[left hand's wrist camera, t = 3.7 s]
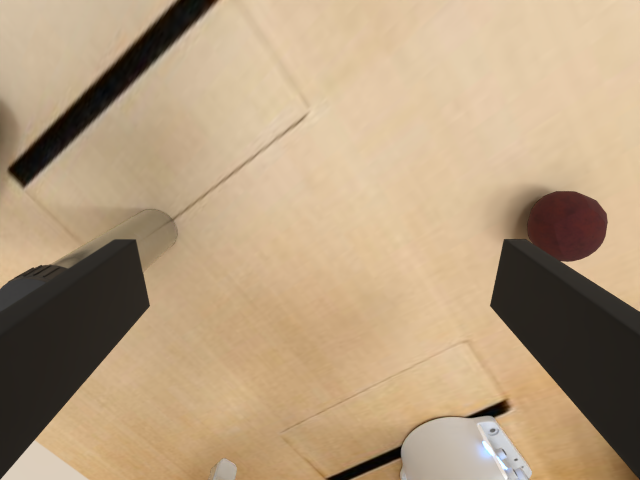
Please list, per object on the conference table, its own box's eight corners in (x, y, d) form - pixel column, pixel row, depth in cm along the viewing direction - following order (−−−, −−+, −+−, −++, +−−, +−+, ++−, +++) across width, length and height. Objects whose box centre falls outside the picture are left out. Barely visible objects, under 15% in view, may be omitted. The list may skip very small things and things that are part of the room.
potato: (528, 256, 43) (566, 283, 36) (504, 206, 40) (539, 225, 34) (586, 225, 41) (637, 247, 35) (564, 171, 39) (614, 184, 32)
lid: (13, 258, 25) (-15, 272, 23) (98, 269, 25) (79, 284, 23) (26, 327, 27) (1, 345, 25) (104, 337, 28) (87, 356, 26)
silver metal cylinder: (132, 205, 40) (-1, 275, 24) (177, 212, 41) (77, 285, 24) (134, 247, 42) (12, 338, 26) (177, 253, 43) (84, 347, 26)
